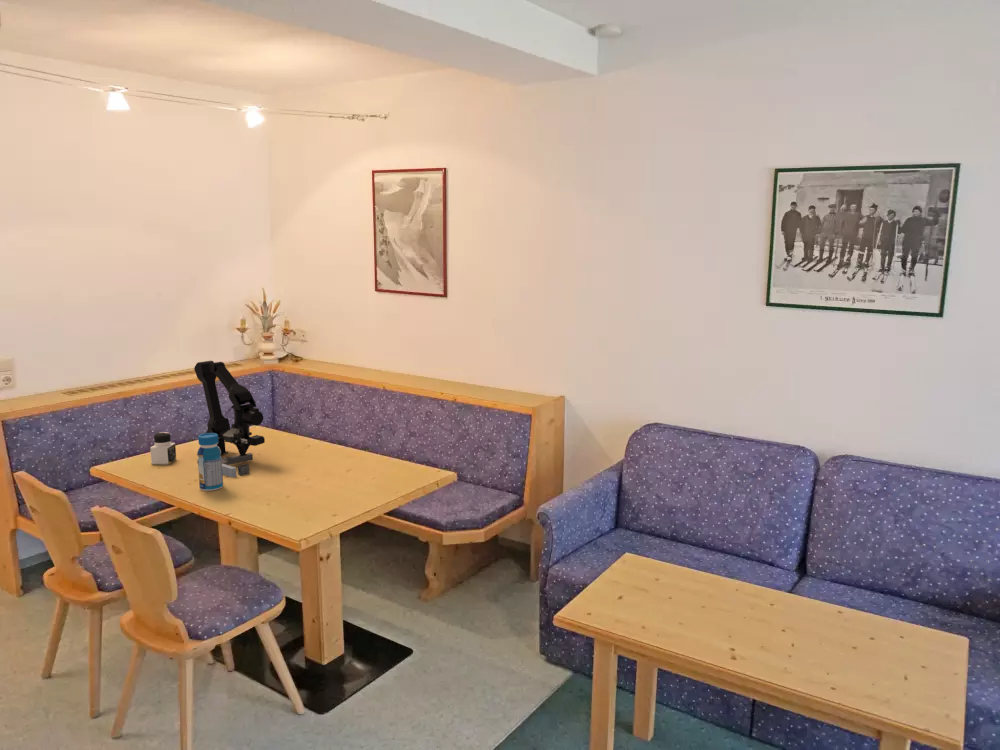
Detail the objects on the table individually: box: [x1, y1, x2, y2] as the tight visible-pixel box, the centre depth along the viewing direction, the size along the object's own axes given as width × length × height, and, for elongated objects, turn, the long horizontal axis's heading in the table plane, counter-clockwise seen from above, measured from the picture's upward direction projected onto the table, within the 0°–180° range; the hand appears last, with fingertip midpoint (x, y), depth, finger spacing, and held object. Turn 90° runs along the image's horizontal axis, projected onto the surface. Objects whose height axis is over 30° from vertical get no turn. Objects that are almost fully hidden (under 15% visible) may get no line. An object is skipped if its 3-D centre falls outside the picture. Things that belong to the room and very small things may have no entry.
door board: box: [222, 464, 238, 478], centre depth 299 cm, size 20×2×4 cm, turn 54°
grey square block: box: [237, 463, 250, 476], centre depth 297 cm, size 2×4×4 cm, turn 144°
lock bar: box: [222, 452, 254, 465], centre depth 308 cm, size 14×4×3 cm, turn 130°
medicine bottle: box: [150, 431, 177, 465], centre depth 311 cm, size 7×7×12 cm
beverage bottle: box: [196, 432, 224, 492], centre depth 279 cm, size 8×8×20 cm
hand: (242, 458), depth 313 cm, fingers closed
